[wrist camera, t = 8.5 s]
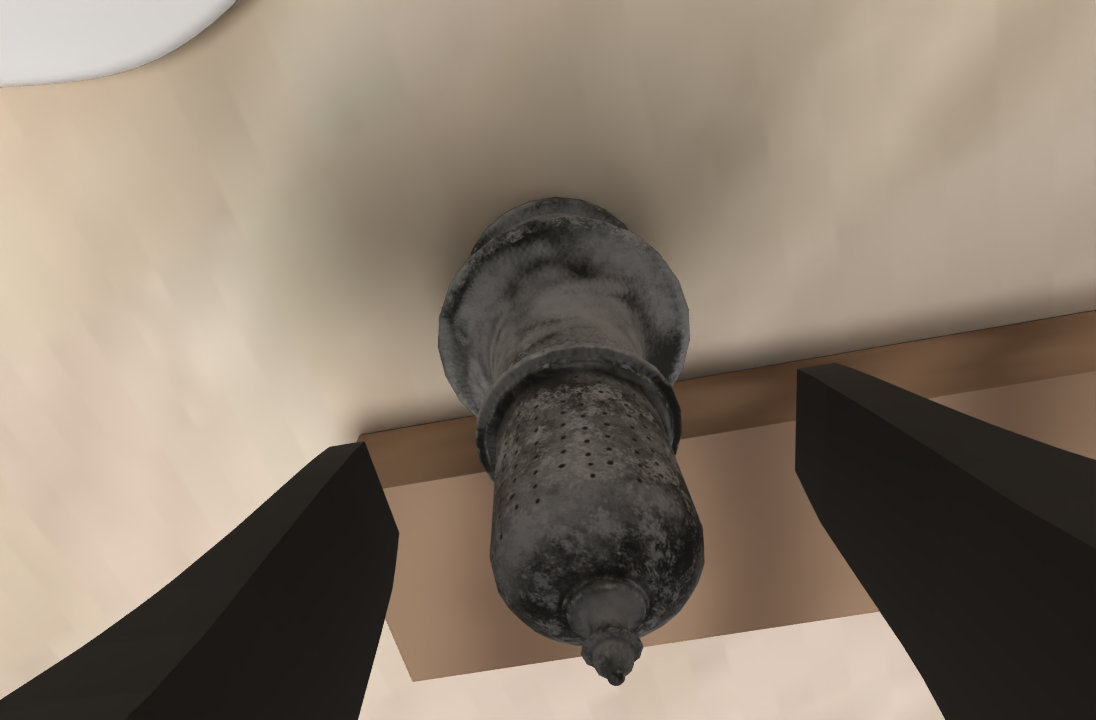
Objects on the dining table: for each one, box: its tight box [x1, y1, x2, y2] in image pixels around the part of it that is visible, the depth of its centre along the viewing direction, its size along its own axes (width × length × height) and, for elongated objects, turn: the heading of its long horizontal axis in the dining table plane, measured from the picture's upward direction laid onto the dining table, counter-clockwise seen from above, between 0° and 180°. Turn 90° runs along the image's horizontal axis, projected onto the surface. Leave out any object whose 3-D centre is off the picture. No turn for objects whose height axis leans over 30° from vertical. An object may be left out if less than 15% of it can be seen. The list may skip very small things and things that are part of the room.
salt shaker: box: [438, 197, 705, 686], centre depth 12 cm, size 6×6×12 cm
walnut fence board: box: [357, 311, 1096, 682], centre depth 19 cm, size 24×8×3 cm, turn 100°
